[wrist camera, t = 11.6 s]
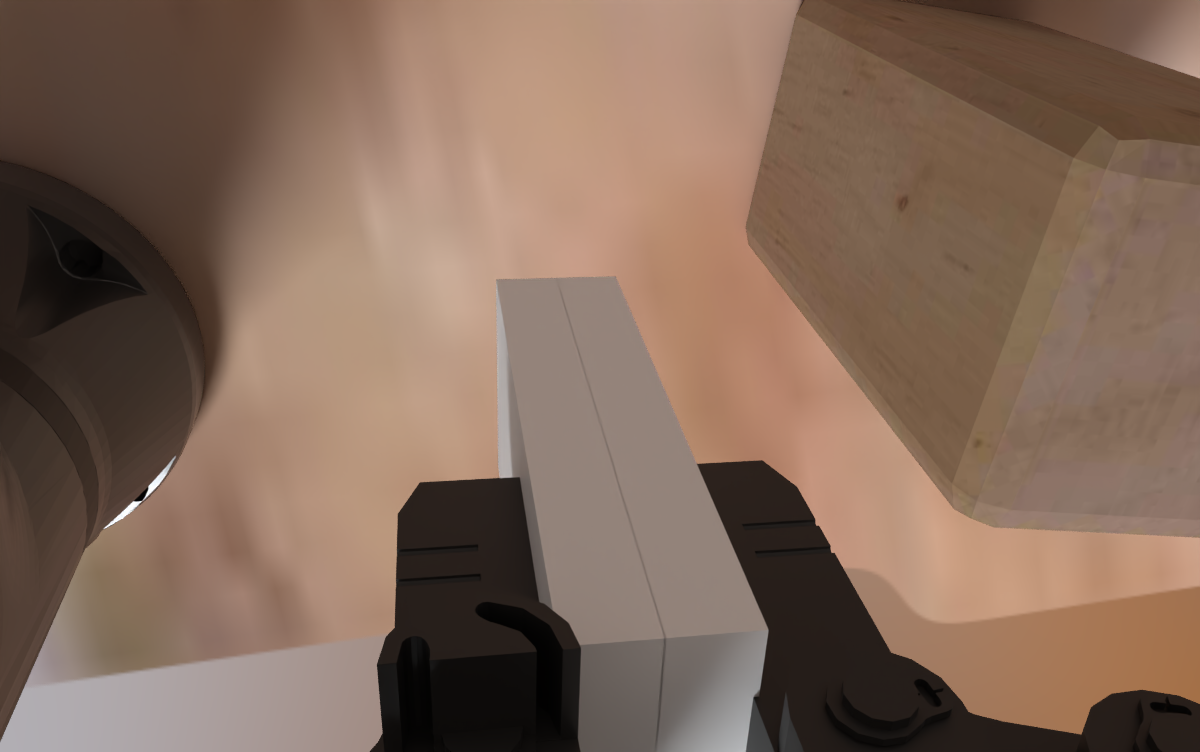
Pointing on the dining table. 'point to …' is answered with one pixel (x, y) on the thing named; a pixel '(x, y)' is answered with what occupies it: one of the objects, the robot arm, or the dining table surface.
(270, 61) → the dining table surface
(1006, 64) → the wooden block
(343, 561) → the dining table surface
